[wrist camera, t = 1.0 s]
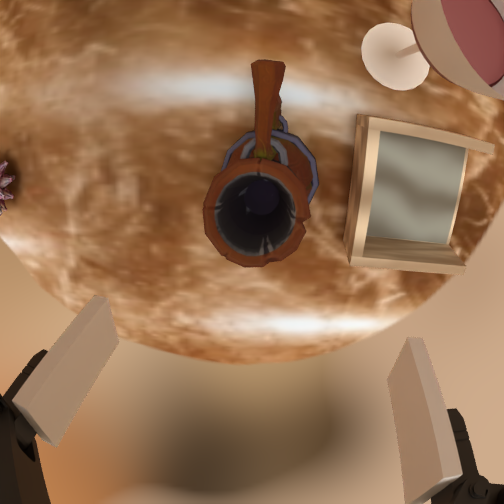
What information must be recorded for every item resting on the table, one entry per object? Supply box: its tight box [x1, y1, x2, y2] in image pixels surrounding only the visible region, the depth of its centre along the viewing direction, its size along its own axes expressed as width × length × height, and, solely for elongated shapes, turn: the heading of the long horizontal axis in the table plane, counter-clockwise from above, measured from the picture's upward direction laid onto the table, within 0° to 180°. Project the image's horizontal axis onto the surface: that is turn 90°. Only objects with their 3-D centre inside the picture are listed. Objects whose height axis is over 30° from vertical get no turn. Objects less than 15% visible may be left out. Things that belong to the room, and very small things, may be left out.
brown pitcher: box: [203, 60, 319, 267], centre depth 30 cm, size 18×12×15 cm, turn 175°
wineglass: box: [361, 0, 504, 100], centre depth 18 cm, size 9×10×23 cm
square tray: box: [343, 114, 495, 275], centre depth 32 cm, size 16×15×7 cm
